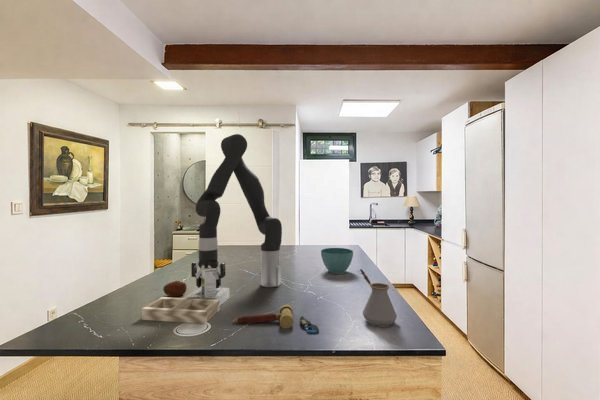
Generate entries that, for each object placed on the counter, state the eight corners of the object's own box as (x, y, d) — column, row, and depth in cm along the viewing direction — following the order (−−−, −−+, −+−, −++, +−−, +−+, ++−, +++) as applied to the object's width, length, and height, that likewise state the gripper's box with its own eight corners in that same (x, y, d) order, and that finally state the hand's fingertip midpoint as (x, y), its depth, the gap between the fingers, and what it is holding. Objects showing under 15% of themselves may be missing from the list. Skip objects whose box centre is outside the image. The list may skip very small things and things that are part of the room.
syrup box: (200, 300, 126) (200, 266, 126) (215, 298, 128) (214, 264, 128) (201, 305, 121) (201, 269, 121) (217, 303, 123) (216, 267, 123)
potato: (181, 298, 128) (181, 283, 128) (160, 298, 129) (160, 283, 129) (188, 293, 135) (188, 279, 135) (168, 293, 136) (168, 278, 136)
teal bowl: (355, 276, 162) (355, 253, 161) (321, 276, 162) (321, 253, 162) (350, 268, 180) (350, 247, 180) (320, 268, 180) (320, 247, 180)
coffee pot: (403, 327, 101) (403, 283, 100) (372, 331, 98) (372, 285, 98) (373, 304, 121) (373, 267, 121) (346, 307, 119) (346, 269, 118)
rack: (219, 310, 116) (219, 299, 116) (205, 323, 104) (205, 312, 104) (161, 306, 119) (161, 296, 119) (141, 319, 107) (141, 308, 107)
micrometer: (319, 329, 97) (304, 330, 96) (319, 335, 97) (304, 336, 96) (311, 314, 108) (297, 314, 107) (311, 319, 108) (297, 320, 107)
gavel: (229, 320, 99) (234, 309, 109) (230, 334, 99) (235, 321, 109) (292, 314, 101) (291, 303, 111) (293, 328, 101) (292, 316, 111)
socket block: (229, 297, 130) (229, 287, 130) (217, 308, 117) (217, 298, 117) (201, 295, 132) (201, 286, 132) (186, 306, 119) (185, 296, 119)
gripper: (228, 246, 127) (228, 285, 127) (196, 246, 129) (196, 284, 129) (221, 250, 119) (221, 291, 120) (187, 249, 121) (187, 289, 122)
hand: (208, 287), depth 125 cm, fingers closed on syrup box, 7 cm apart
